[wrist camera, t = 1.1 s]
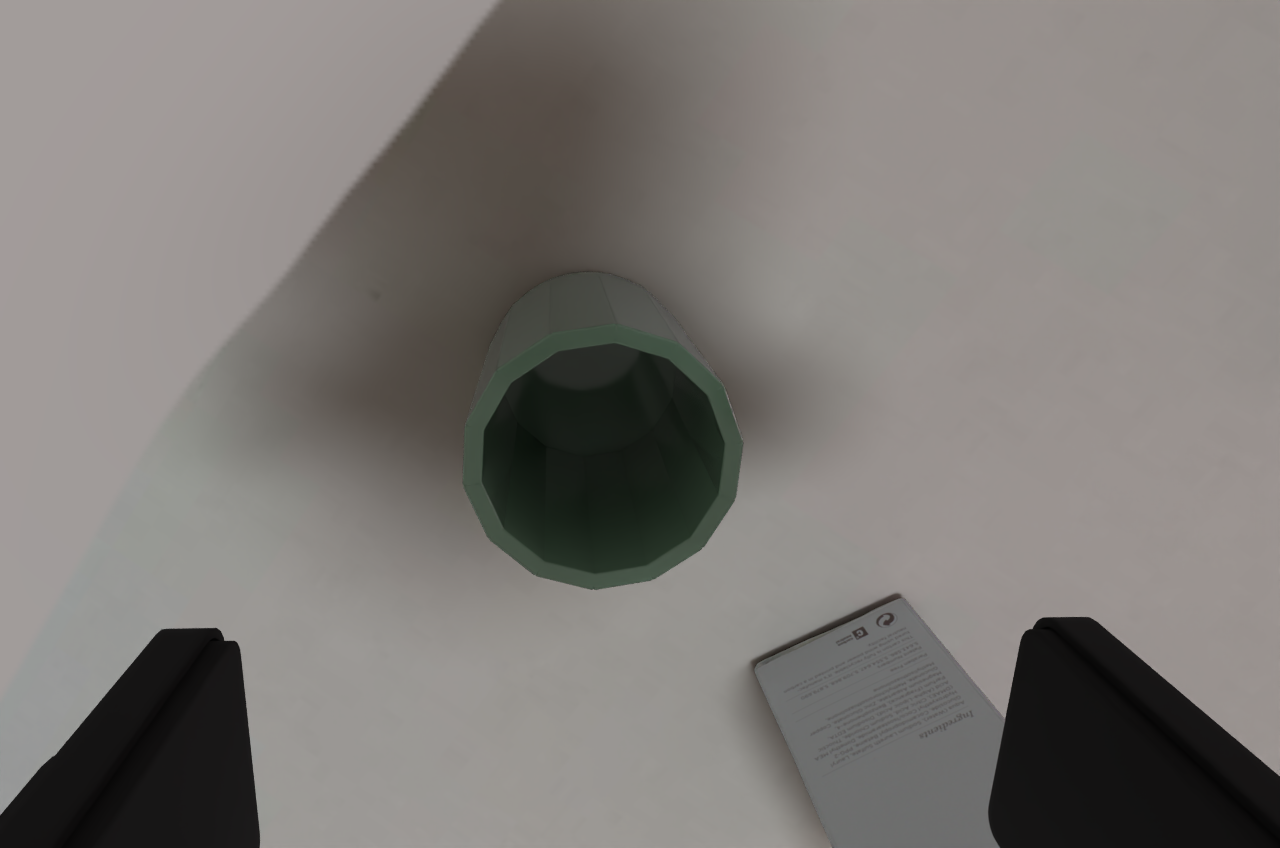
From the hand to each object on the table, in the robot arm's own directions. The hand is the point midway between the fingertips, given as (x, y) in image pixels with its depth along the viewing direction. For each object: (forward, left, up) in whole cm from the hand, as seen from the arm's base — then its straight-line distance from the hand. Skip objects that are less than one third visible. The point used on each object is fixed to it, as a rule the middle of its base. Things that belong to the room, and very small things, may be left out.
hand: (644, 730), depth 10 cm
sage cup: (0, 0, -16) cm, 16 cm away
